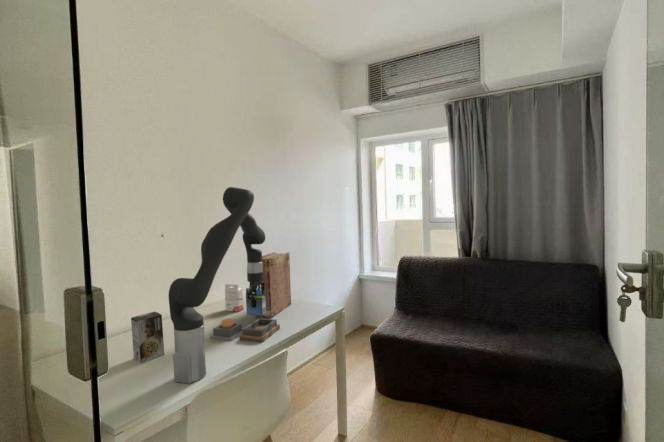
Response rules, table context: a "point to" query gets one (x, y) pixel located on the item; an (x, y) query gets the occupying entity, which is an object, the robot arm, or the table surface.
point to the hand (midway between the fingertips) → (256, 306)
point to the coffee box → (147, 336)
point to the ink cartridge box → (233, 298)
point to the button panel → (227, 332)
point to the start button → (227, 323)
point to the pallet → (260, 330)
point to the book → (276, 283)
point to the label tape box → (260, 304)
